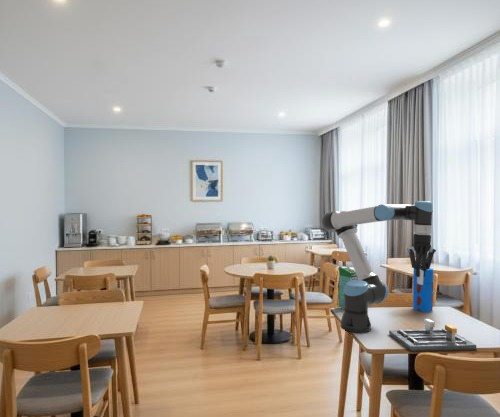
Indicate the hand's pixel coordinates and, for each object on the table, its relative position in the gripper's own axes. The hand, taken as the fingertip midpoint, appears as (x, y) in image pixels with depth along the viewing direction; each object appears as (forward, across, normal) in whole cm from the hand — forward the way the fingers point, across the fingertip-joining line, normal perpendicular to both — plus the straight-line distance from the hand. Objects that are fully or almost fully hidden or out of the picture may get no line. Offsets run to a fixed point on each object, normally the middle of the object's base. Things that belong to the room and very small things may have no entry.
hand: (419, 283), depth 172 cm
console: (+26, +4, -4) cm, 26 cm away
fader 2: (+23, +11, -9) cm, 27 cm away
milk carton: (+28, -15, +51) cm, 60 cm away
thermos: (+27, +29, +47) cm, 61 cm away
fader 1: (+24, +6, 0) cm, 24 cm away
